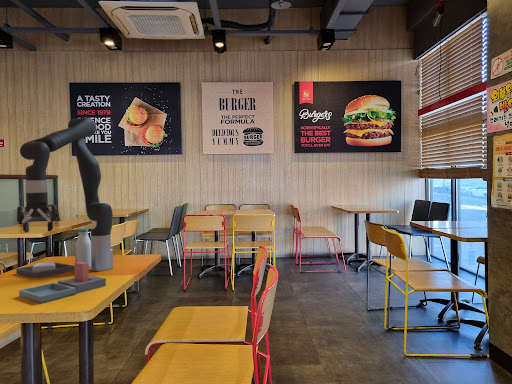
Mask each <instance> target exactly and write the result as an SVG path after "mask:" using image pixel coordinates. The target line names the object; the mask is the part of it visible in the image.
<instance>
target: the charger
mask: <svg viewBox="0 0 512 384" xmlns="http://www.w3.org/2000/svg"><path fill="white" fill-rule="evenodd" d="M55 262H56V261H47V262H38V263H34V264H33V265H32V266H33V268H32V272H36V273H38V272H44V271H49V270H54V269H56V268H55Z"/></svg>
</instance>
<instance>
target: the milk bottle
mask: <svg viewBox="0 0 512 384" xmlns="http://www.w3.org/2000/svg"><path fill="white" fill-rule="evenodd" d="M77 233H78V237H77V240H76V242H75V245H74V247H75V249H74V250H75V251H74V252H75V256H74V257H75V263H76V262H85V263H88V267H89V269H91V238H90V237H89V229H88V228H79V229H78V230H77Z"/></svg>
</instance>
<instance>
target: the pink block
mask: <svg viewBox="0 0 512 384" xmlns="http://www.w3.org/2000/svg"><path fill="white" fill-rule="evenodd" d="M74 266H75V271H74V277H75V281H79V282H86V281H89V275H90V273H89V272H90V270H89V269H90V268H89V267H88V263H85V262H76V261H75V262H74Z"/></svg>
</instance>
